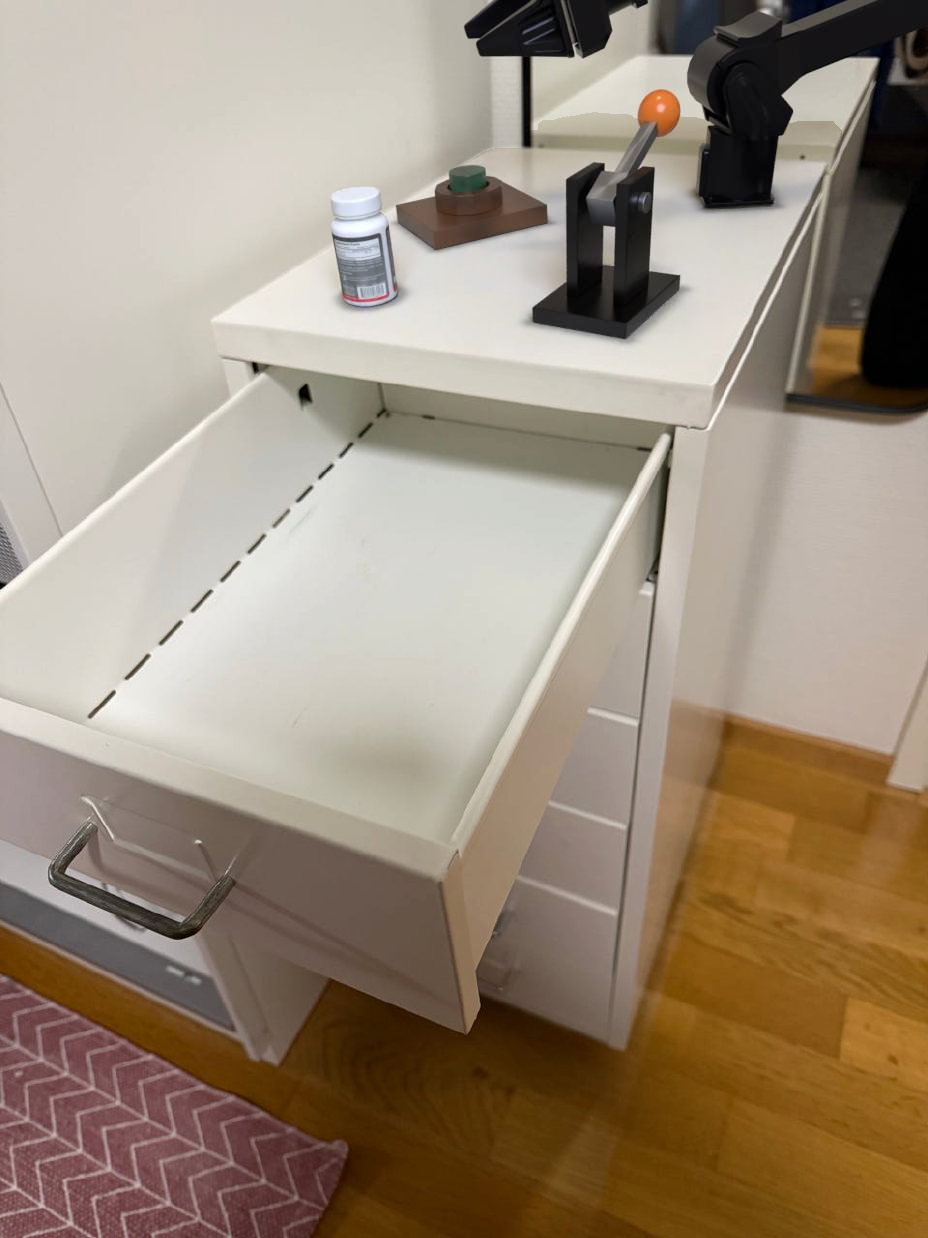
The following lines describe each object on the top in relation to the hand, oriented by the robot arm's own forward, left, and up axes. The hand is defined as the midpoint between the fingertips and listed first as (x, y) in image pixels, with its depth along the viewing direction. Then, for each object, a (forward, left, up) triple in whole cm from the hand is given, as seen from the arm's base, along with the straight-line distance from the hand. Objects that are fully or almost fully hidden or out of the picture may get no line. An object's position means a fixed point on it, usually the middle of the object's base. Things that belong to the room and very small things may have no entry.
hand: (471, 40), depth 76 cm
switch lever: (-14, +16, -7) cm, 22 cm away
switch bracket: (-12, +20, -16) cm, 28 cm away
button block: (+1, -2, -16) cm, 16 cm away
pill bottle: (+8, +16, -16) cm, 24 cm away
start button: (+1, -2, -13) cm, 13 cm away
